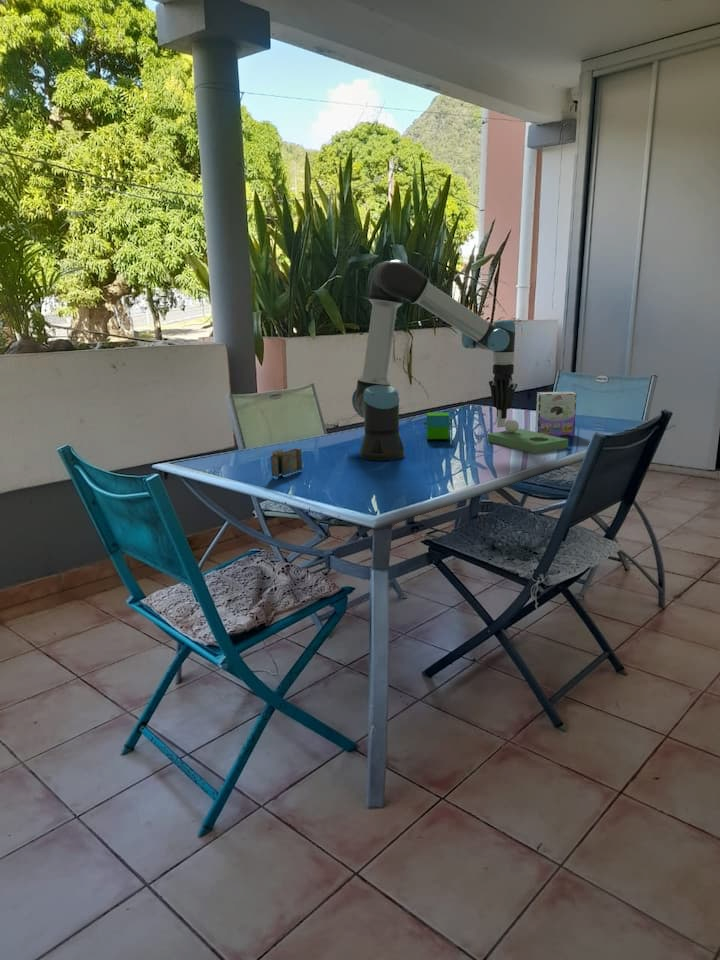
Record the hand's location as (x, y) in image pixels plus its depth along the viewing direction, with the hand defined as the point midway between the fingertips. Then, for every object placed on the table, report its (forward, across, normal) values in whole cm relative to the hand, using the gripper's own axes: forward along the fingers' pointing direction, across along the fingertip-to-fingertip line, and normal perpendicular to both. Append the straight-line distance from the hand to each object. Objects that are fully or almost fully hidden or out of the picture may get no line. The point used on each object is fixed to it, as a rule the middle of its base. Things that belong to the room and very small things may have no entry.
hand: (501, 426), depth 250 cm
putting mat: (+4, -14, 0) cm, 14 cm away
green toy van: (+5, +14, +19) cm, 24 cm away
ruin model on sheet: (+5, -2, +89) cm, 89 cm away
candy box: (+5, -8, -20) cm, 22 cm away
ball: (-1, -6, 0) cm, 6 cm away
